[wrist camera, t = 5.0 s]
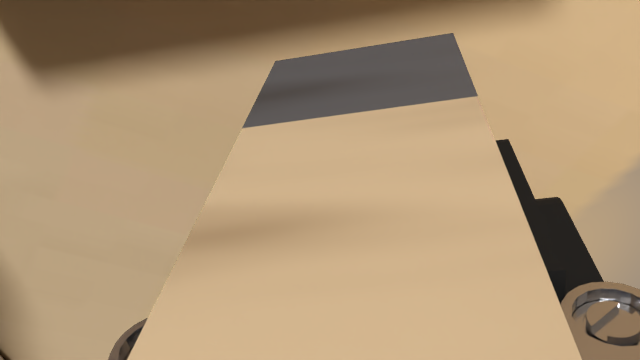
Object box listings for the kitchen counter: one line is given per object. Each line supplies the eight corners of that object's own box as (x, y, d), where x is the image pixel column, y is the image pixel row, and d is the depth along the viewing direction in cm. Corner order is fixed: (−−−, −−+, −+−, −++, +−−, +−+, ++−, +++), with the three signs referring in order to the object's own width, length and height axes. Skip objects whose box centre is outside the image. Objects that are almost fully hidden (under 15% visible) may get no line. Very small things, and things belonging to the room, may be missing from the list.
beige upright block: (467, 249, 15) (562, 685, 7) (324, 261, 15) (267, 670, 8) (452, 32, 12) (592, 384, 4) (275, 61, 12) (104, 405, 5)
